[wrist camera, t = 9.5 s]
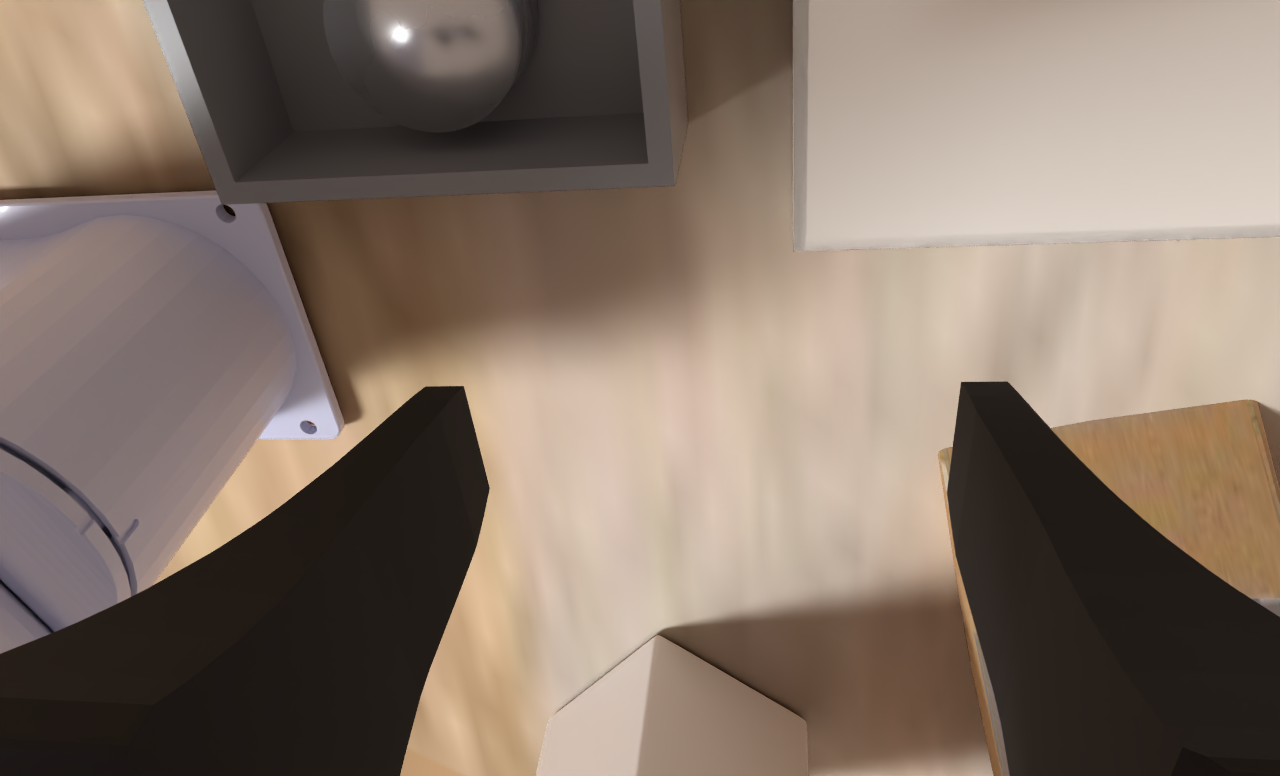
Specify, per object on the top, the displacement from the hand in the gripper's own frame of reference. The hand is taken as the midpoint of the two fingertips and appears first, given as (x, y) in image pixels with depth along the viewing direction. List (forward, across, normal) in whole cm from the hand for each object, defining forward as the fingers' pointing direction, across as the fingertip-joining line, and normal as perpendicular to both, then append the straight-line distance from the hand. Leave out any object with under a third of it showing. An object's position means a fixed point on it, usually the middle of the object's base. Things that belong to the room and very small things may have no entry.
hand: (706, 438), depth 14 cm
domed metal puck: (+10, +6, -4) cm, 12 cm away
